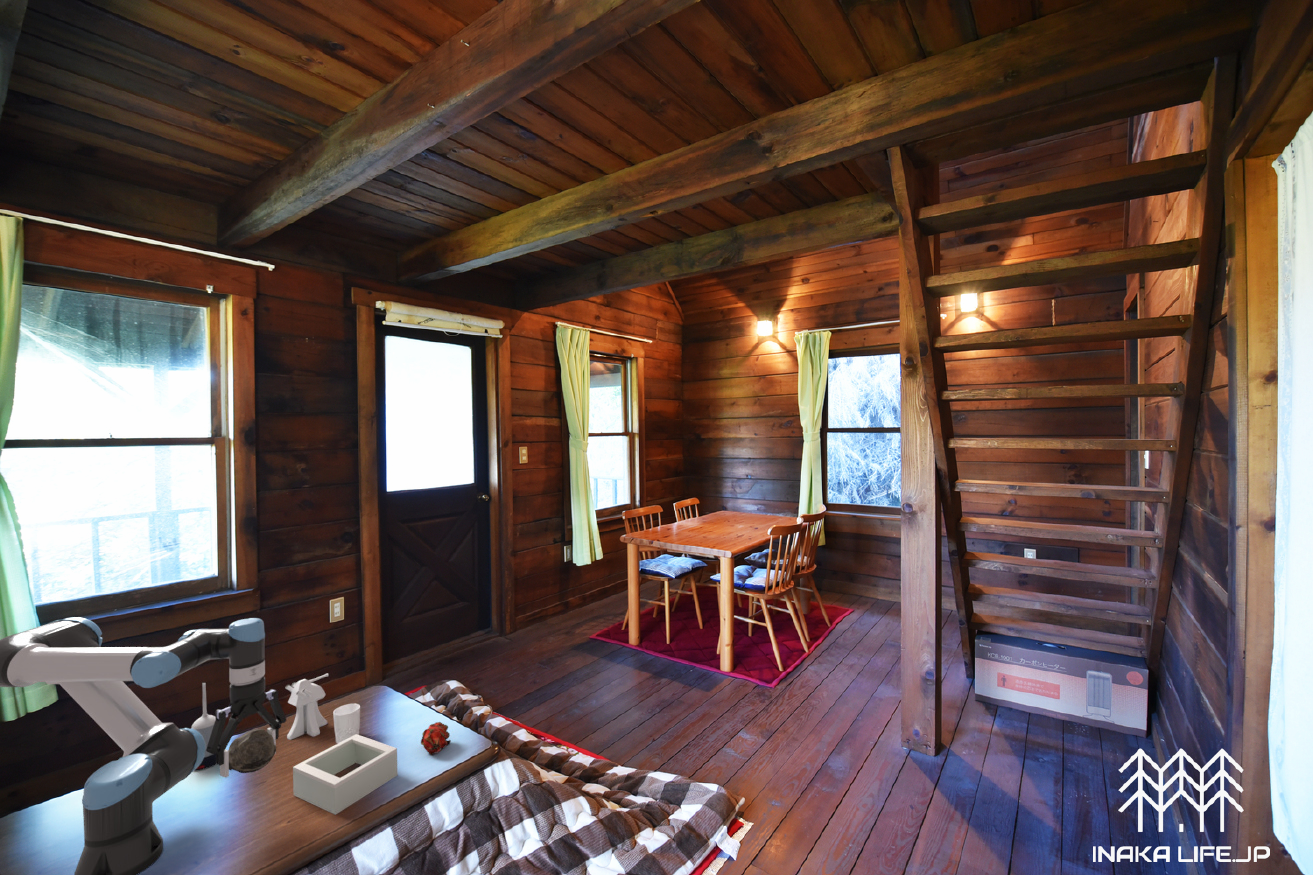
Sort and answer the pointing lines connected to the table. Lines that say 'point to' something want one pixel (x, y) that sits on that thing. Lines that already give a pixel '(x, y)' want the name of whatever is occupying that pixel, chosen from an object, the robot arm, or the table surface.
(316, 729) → the toy gun turret
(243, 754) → the fossil
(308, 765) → the box
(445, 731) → the dragon fruit
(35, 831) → the table surface
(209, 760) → the humidifier
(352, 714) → the white cup
